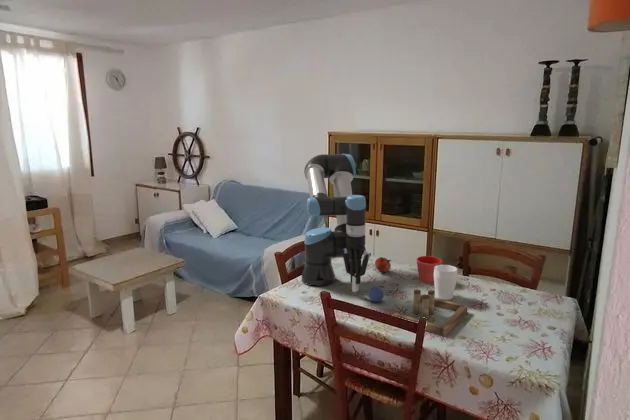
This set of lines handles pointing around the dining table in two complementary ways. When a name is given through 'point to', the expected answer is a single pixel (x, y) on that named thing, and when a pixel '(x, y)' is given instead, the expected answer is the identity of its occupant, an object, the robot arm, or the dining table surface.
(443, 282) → the cup
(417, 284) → the dining table surface
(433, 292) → the pin
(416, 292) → the pin front
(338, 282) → the dining table surface
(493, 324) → the dining table surface
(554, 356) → the dining table surface
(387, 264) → the pomegranate
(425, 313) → the pin
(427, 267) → the flower pot
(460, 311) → the tray
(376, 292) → the ball
